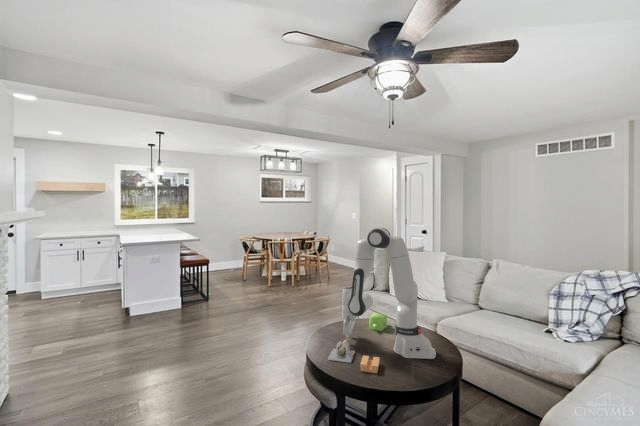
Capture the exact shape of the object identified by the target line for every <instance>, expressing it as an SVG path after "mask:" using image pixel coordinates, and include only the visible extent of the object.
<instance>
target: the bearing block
mask: <svg viewBox="0 0 640 426" xmlns="http://www.w3.org/2000/svg"><path fill="white" fill-rule="evenodd" d="M342 343H343V341H341V340H339V341H338V342H337V344H336V345H335V347H336V348H335V347H334V348H332V350H331V351H330V354H329V356H328V357H327V361H332V362H341V363H348V364H351V363H352V361H353V359H354V357H355V354H356V351H355V350H352V349H351V350H350V344H351V343H350V342H349V341H348V342H346V344H345V346H344V348H346V350H345V352H344V354H343V355H342V356H340V355H339V354H338V350H339V348H340V346H341V345H342Z"/></svg>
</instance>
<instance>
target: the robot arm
mask: <svg viewBox="0 0 640 426" xmlns="http://www.w3.org/2000/svg"><path fill="white" fill-rule="evenodd" d="M376 249H385V250H386V253H387V257H388V260H389V265H390V269H391V274H392V284H393V289H394V296H395V298H396V300H397V301H396V314H395V315H396V316H395V317H396V321H395V323H396V324H395V325H394V327H395V331H394V333H395V340H394V346H393V349H392V351H393V352H395V353H396V354H397V355H400V356H402V357H403V358H405V359H424V360H425V359H427V360H434V359H435V358H436V356H437V351H436V349H435V348H433V346H432V343H431V341H430V339H429V338H427V337H426V336H425V335H424V334H423V331H422V329H421V326H420V325H418V300H419V299H418V297H419V296H418V295H419V294H418V292H419V291H418V290H419V288H418V285H417V282H416V281H414V275H413V268H412V264H411V260H410V256H409V251H408V248H407V245H406V243H405V241H404V239H403V238H402V237H400V236H392V235H391V233H390V231H389V230H388V229H387V228H384V227H376V228H373V229H371V230H370V231H369V232H368V234H367V237H366V238H362V239H359V240H358V241H357V242H356V248H355V254H354V256H355V257H354V270H353V275H352V276H353V277H352V284H351V286H346V287H345V288H343V289H342V294H341V302H342V303H341V304H342V305H341V306H342V307H341V318H343V326H342V335H345V340H348V341H349V340H350V335H353V329H354V326H355V323H356V319H357V317H361V316H362V315H364V313H365V312H367V311H368V310H370V308H371V307H372V306H373V298H372V297H371V295H370V294H368V293H365V292H364V286H365V282H366V279H367V278H368V277H369V275H370V274H371V272H373V269H374V266H375V265H374V264H375V251H376Z"/></svg>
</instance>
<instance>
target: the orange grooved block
mask: <svg viewBox="0 0 640 426" xmlns="http://www.w3.org/2000/svg"><path fill="white" fill-rule="evenodd" d="M361 357H362V358H361V361H360V363H359V366H360V372H364V373H372V374H378V371H379V367H380V363H381V362H380V359H381V358H380V357H379V356H373V358H372V359H370V356H369V355H364V354H363V355H362V356H361Z"/></svg>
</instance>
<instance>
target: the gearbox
mask: <svg viewBox="0 0 640 426" xmlns="http://www.w3.org/2000/svg"><path fill="white" fill-rule="evenodd" d="M368 322H369V324H368V327H369V328H368V329H369V330H371V331H379V332H382V331H383V330H385V329H386V328H387V326H388V317H387V314H383V313H378V312H374V313H373V314H371V315H370V316H369V318H368Z"/></svg>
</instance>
